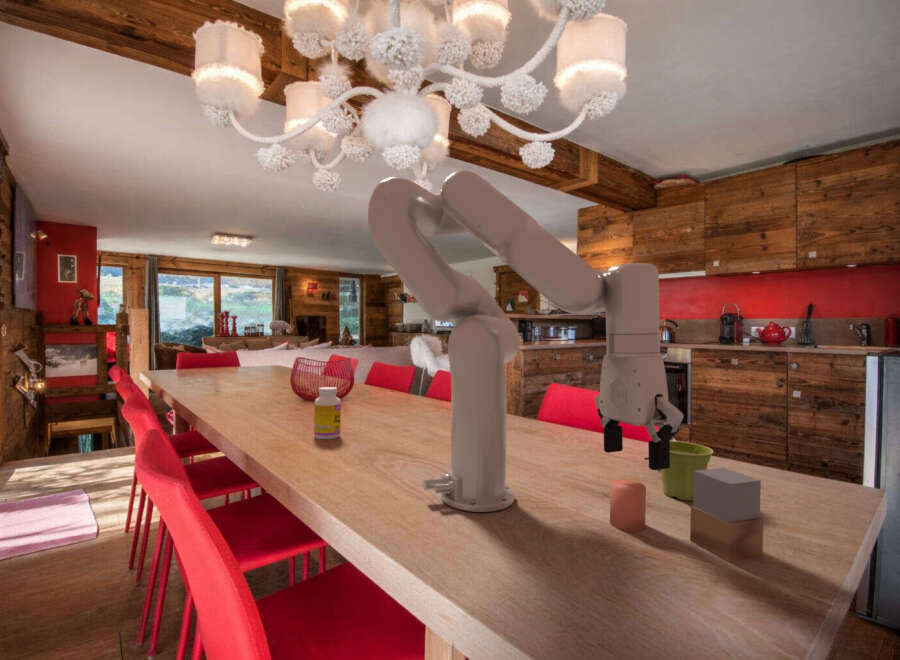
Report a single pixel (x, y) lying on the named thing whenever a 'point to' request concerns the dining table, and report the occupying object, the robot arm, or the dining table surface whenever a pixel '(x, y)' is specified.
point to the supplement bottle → (327, 414)
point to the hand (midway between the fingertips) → (634, 459)
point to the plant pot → (684, 468)
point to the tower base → (727, 536)
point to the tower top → (727, 494)
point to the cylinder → (627, 505)
